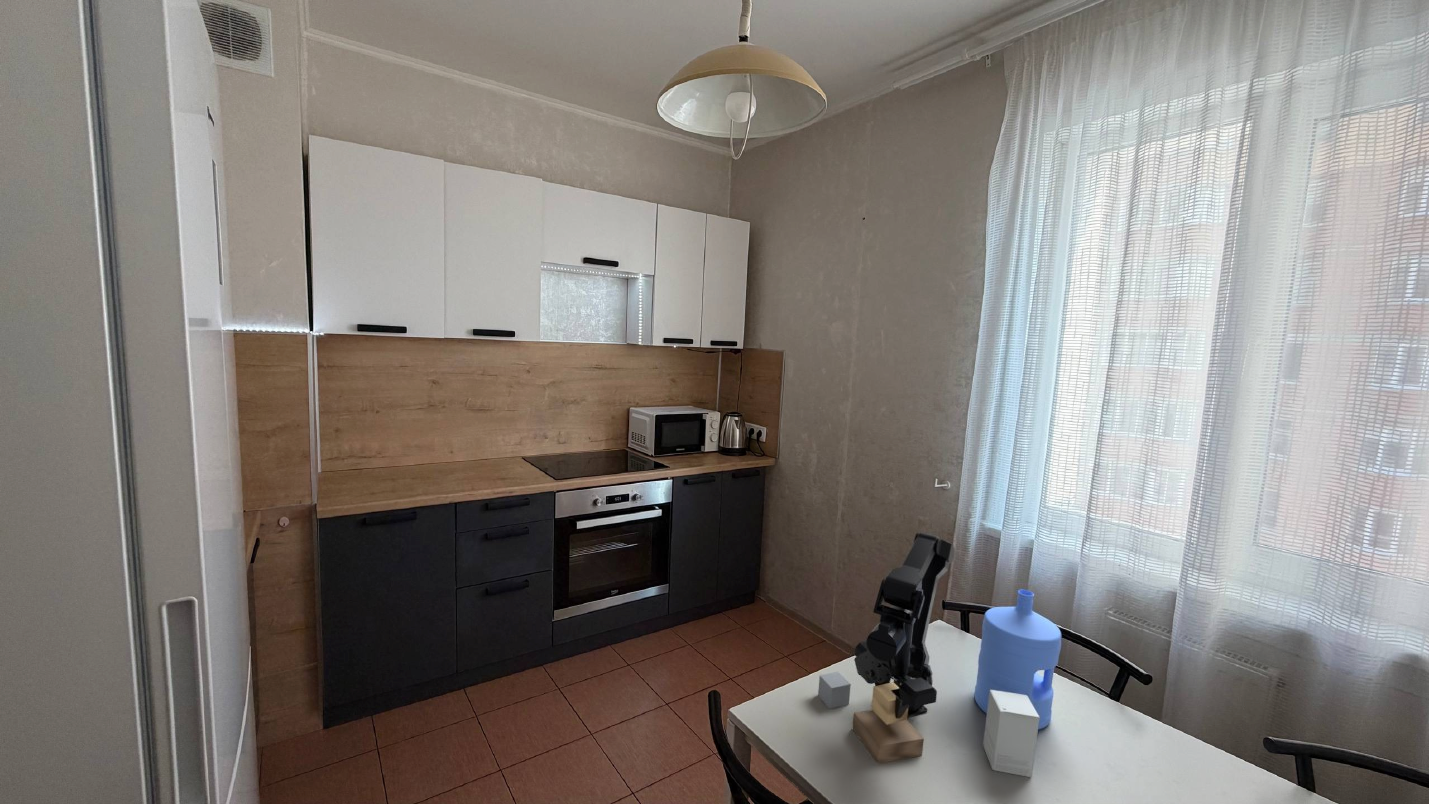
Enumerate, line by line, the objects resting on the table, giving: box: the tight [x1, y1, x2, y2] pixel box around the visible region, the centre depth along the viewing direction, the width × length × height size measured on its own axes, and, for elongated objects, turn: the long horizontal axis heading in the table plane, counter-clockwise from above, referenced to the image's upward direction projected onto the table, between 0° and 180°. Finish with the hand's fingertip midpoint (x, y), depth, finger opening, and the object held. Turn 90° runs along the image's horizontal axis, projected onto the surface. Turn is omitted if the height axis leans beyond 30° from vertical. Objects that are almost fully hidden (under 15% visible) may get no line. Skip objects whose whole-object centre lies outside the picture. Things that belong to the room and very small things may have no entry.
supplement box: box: [982, 690, 1040, 778], centre depth 114 cm, size 7×7×13 cm
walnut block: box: [852, 709, 925, 764], centre depth 118 cm, size 10×10×4 cm
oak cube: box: [870, 681, 908, 725], centre depth 117 cm, size 5×5×5 cm
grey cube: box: [817, 671, 851, 710], centre depth 131 cm, size 5×5×5 cm
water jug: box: [973, 589, 1062, 730], centre depth 130 cm, size 16×16×28 cm
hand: (889, 709), depth 117 cm, fingers closed on oak cube, 5 cm apart
